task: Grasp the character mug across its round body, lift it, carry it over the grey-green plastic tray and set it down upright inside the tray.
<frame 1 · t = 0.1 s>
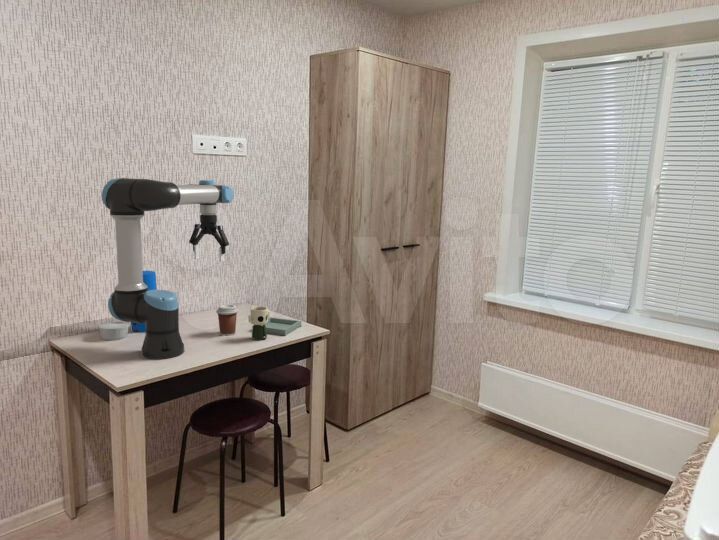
hand: (209, 259, 240), 28 cm above the table, fingers open, 13 cm apart
thermos: (144, 329, 224), on the table
ramekin: (114, 337, 212), on the table
character mug: (259, 339, 215), on the table
coffee cup: (227, 333, 221), on the table
tray: (277, 328, 230), on the table
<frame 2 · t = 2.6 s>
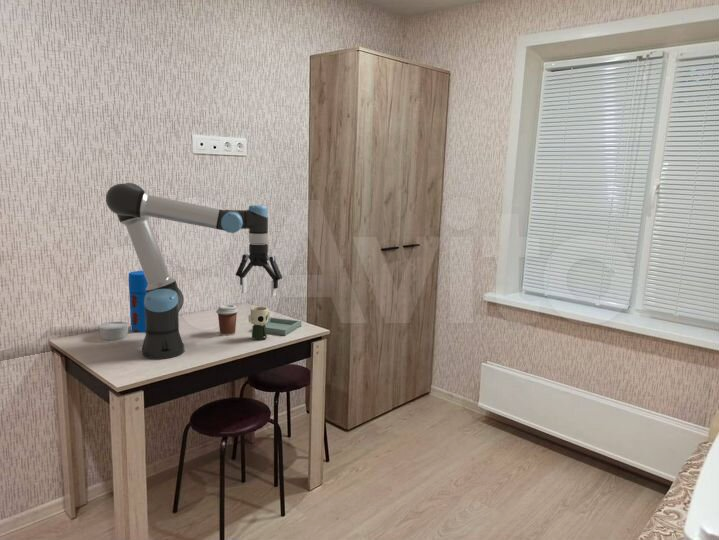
hand: (258, 294, 212), 19 cm above the table, fingers open, 13 cm apart
nothing on the table moved.
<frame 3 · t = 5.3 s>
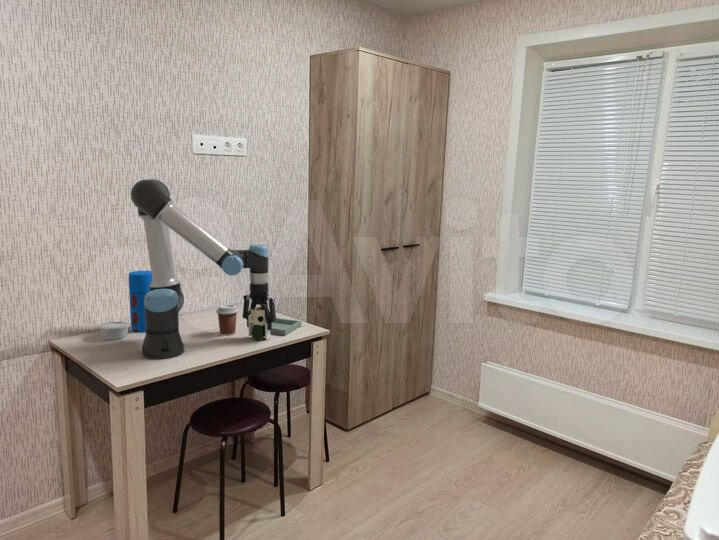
hand: (259, 336, 215), 1 cm above the table, fingers closed on character mug, 7 cm apart
character mug: (259, 339, 215), on the table, touching gripper
everything else where it was.
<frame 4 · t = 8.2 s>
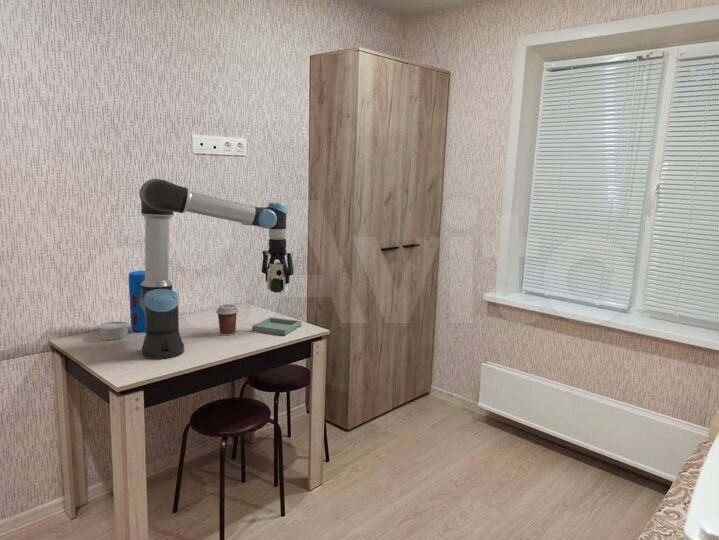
hand: (277, 289, 227), 18 cm above the table, fingers closed on character mug, 7 cm apart
character mug: (277, 292, 227), point 17 cm above the table, touching gripper
everything else where it was.
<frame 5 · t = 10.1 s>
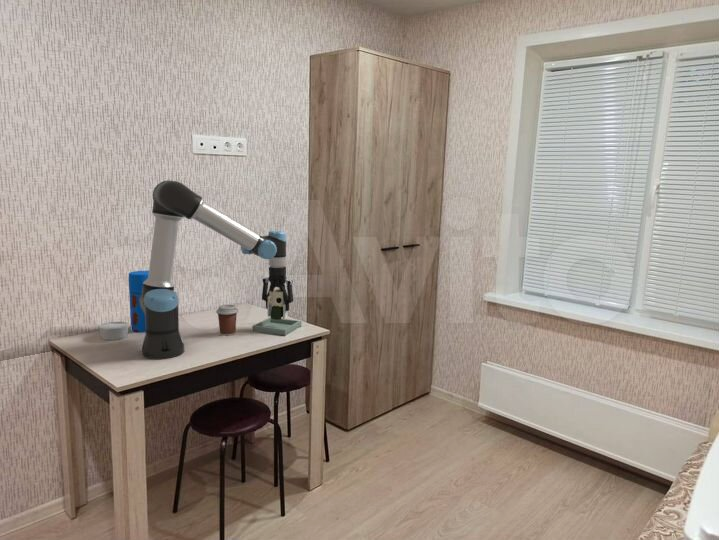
hand: (277, 316, 229), 6 cm above the table, fingers closed on character mug, 7 cm apart
character mug: (277, 319, 229), point 4 cm above the table, touching gripper
everything else where it was.
when the fingers open (4 cm above the table, at t = 11.4 s): character mug drops 2 cm, resting on tray.
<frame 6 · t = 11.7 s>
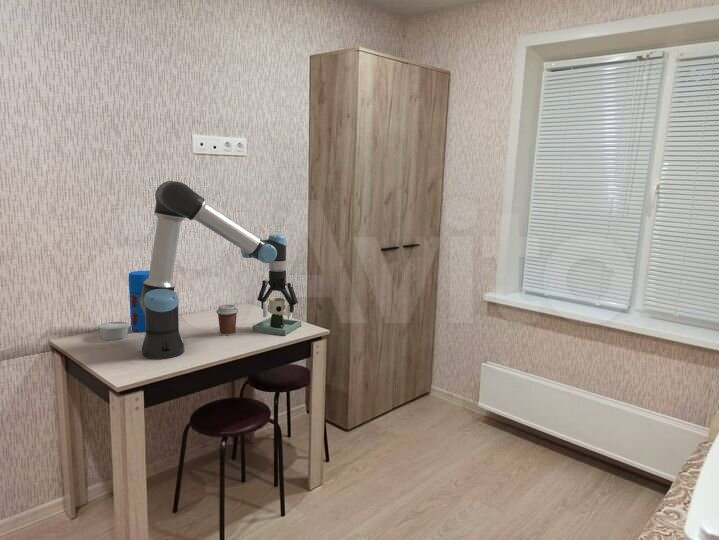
hand: (277, 317, 229), 5 cm above the table, fingers open, 11 cm apart
character mug: (277, 327, 230), resting on tray
everything else where it was.
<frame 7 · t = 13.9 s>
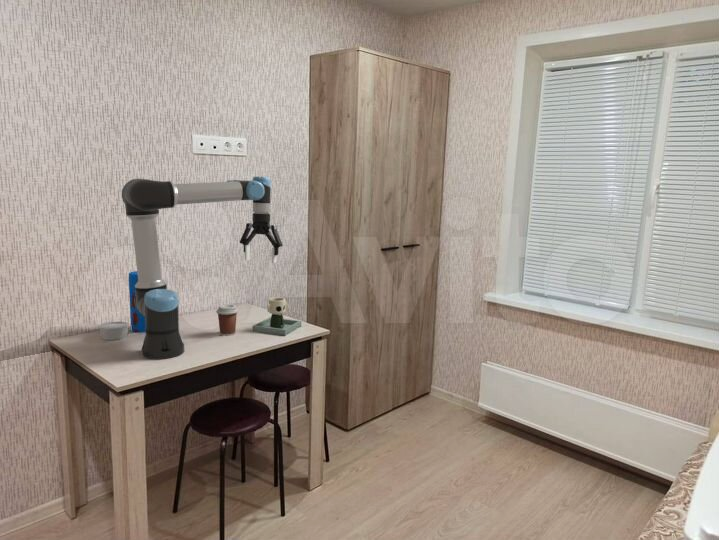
hand: (260, 261, 226), 30 cm above the table, fingers open, 13 cm apart
nothing on the table moved.
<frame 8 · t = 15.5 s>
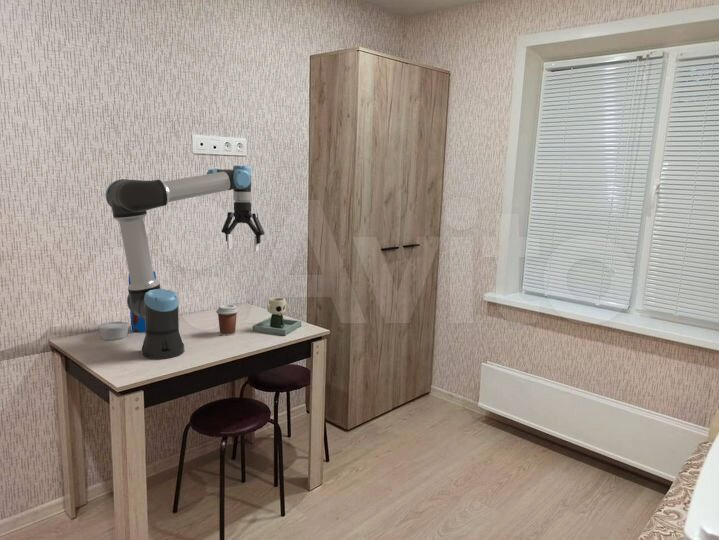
hand: (243, 250, 227), 35 cm above the table, fingers open, 13 cm apart
nothing on the table moved.
at the end: character mug inside the target area on the tray (0.1 cm from its centre), point 0.4 cm above the tray's base; character mug tilted 0°; the gripper is holding nothing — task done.
